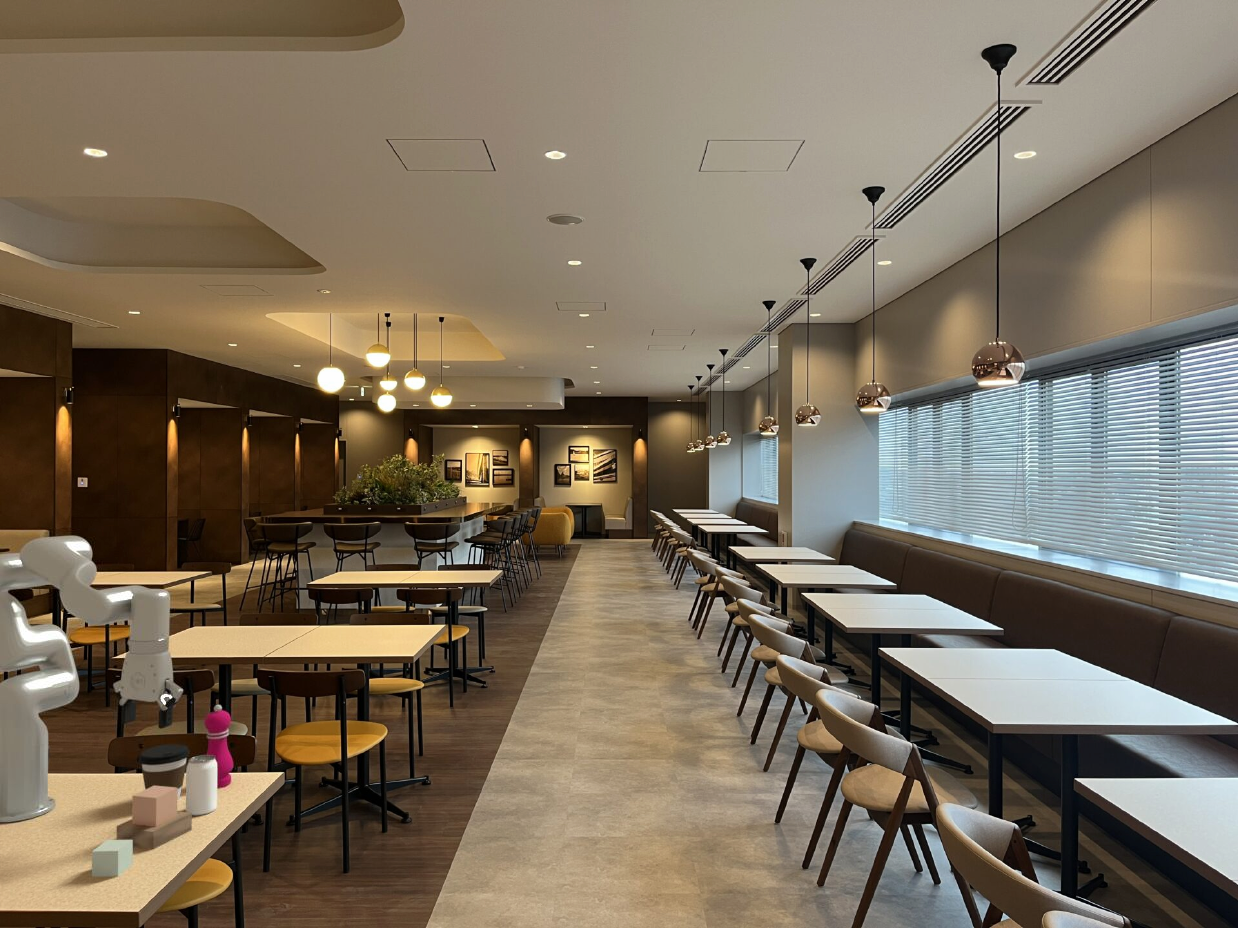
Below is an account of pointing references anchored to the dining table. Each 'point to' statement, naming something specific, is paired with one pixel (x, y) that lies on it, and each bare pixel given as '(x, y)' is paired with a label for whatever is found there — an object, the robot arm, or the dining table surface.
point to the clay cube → (154, 805)
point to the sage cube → (112, 858)
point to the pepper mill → (219, 744)
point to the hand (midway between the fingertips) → (146, 724)
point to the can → (201, 785)
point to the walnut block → (155, 831)
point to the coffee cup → (164, 766)
